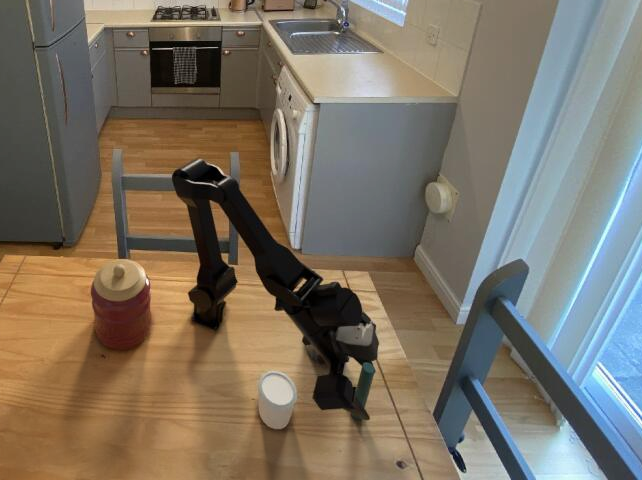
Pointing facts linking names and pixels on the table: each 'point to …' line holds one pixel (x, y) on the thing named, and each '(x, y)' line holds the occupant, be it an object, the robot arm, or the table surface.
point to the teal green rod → (364, 385)
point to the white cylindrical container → (276, 398)
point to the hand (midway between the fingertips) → (370, 394)
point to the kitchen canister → (121, 304)
